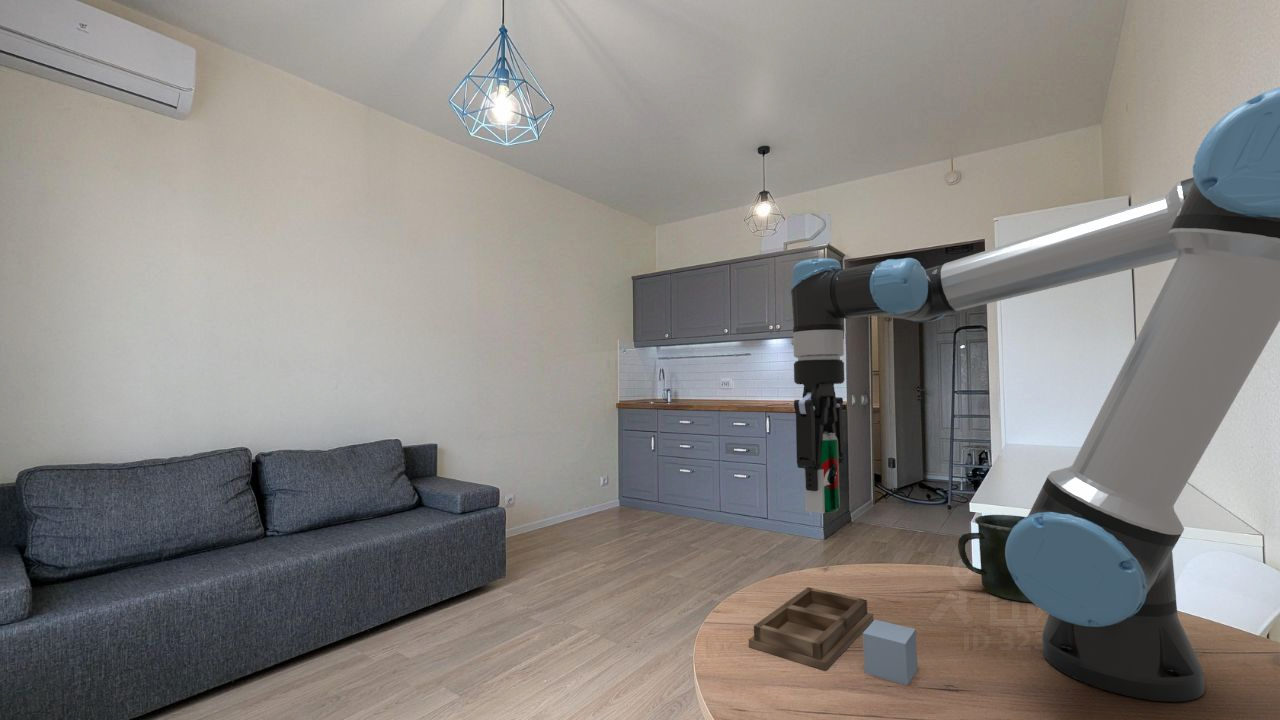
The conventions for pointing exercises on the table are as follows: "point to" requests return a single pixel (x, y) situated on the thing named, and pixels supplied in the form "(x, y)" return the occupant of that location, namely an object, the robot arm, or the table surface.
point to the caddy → (812, 627)
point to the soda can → (830, 471)
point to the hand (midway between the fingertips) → (822, 508)
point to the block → (890, 652)
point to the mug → (993, 555)
